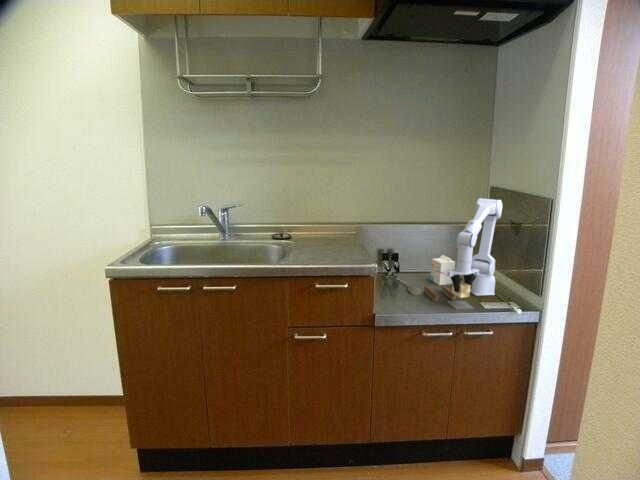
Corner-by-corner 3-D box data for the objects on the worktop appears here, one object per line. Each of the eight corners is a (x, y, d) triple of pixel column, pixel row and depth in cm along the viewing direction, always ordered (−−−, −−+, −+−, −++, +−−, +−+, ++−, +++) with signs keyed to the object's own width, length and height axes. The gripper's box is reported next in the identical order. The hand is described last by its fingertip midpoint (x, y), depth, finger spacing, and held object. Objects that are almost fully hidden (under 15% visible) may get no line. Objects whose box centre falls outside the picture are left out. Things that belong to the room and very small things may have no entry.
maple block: (460, 292, 172) (461, 281, 170) (469, 296, 166) (470, 285, 165) (451, 293, 170) (452, 282, 169) (460, 297, 165) (461, 286, 164)
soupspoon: (412, 297, 180) (425, 297, 182) (413, 290, 179) (426, 290, 181) (392, 281, 201) (403, 281, 202) (392, 275, 200) (404, 274, 202)
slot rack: (444, 291, 185) (445, 285, 185) (455, 300, 175) (456, 293, 174) (424, 292, 184) (424, 286, 183) (434, 301, 173) (434, 294, 173)
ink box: (429, 280, 202) (431, 254, 200) (443, 278, 205) (445, 253, 202) (439, 285, 194) (441, 259, 191) (453, 284, 197) (456, 258, 194)
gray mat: (464, 301, 173) (464, 300, 173) (473, 308, 166) (473, 307, 165) (447, 302, 172) (447, 301, 172) (455, 309, 164) (455, 308, 164)
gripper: (472, 257, 170) (469, 286, 173) (443, 259, 166) (441, 289, 169) (483, 261, 164) (480, 292, 167) (454, 263, 159) (451, 295, 162)
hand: (461, 291), depth 167 cm, fingers closed on maple block, 4 cm apart
